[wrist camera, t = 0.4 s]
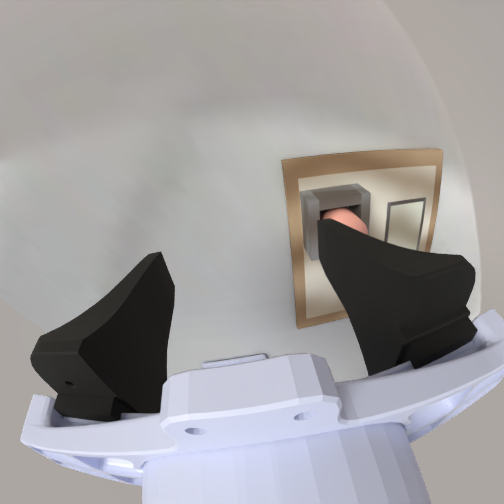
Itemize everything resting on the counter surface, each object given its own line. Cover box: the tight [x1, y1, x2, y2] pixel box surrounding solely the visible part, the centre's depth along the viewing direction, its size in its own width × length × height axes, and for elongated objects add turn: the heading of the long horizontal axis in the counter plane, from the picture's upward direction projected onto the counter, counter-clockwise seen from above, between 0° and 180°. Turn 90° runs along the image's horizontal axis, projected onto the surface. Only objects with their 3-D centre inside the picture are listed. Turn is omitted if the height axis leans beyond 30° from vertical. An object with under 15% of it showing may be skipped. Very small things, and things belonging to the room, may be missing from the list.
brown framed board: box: [281, 149, 443, 329], centre depth 23 cm, size 18×16×3 cm
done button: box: [320, 206, 368, 235], centre depth 20 cm, size 3×3×3 cm
